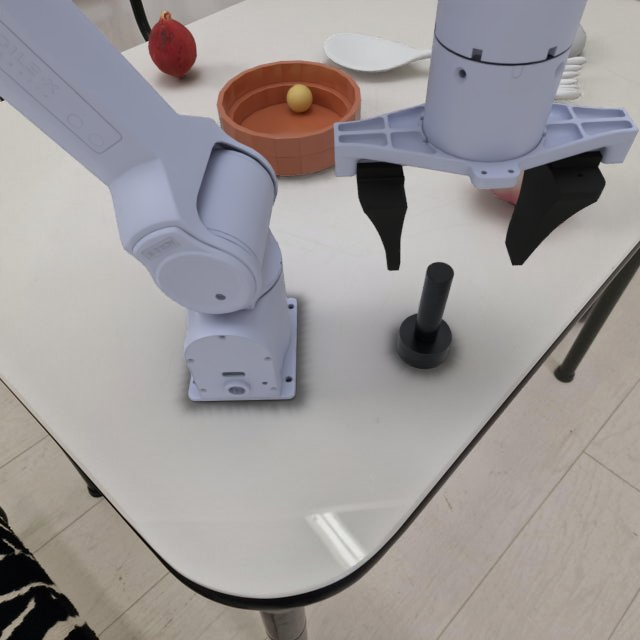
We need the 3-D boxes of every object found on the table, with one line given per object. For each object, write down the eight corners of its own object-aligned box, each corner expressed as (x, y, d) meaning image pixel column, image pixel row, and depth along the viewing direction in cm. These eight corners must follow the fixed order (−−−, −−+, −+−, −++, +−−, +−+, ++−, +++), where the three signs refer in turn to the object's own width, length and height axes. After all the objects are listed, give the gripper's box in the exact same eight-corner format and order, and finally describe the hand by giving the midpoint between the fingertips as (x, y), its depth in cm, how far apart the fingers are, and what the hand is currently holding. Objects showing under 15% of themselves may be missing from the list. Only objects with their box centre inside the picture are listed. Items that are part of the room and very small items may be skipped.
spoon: (571, 120, 59) (583, 91, 56) (313, 74, 67) (312, 47, 64) (578, 81, 64) (589, 53, 61) (337, 42, 72) (337, 16, 69)
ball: (307, 112, 58) (320, 90, 59) (285, 96, 57) (297, 74, 58) (301, 121, 61) (313, 100, 61) (279, 106, 60) (291, 85, 61)
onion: (193, 91, 65) (177, 24, 59) (150, 87, 66) (130, 21, 59) (208, 68, 68) (194, 2, 62) (167, 65, 69) (150, 0, 63)
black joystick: (451, 368, 40) (476, 294, 32) (399, 369, 40) (413, 295, 33) (443, 326, 42) (465, 248, 35) (394, 327, 42) (406, 250, 35)
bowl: (363, 178, 54) (365, 135, 50) (218, 182, 54) (209, 140, 50) (355, 99, 63) (356, 58, 59) (231, 103, 63) (224, 62, 59)
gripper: (333, 91, 20) (340, 310, 30) (724, 70, 19) (589, 300, 30) (329, 10, 24) (336, 228, 35) (649, -9, 23) (555, 218, 34)
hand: (452, 256), depth 33 cm, fingers open, 7 cm apart
